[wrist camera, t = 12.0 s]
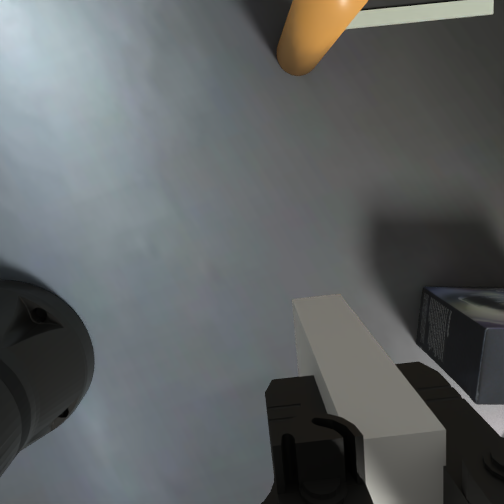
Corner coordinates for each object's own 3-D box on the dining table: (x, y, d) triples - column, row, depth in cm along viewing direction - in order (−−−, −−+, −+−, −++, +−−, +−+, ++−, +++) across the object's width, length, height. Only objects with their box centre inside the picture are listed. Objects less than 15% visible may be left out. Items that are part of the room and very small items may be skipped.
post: (278, 77, 34) (305, 20, 20) (274, 31, 33) (300, -62, 19) (321, 73, 34) (377, 12, 20) (318, 26, 33) (374, -69, 20)
